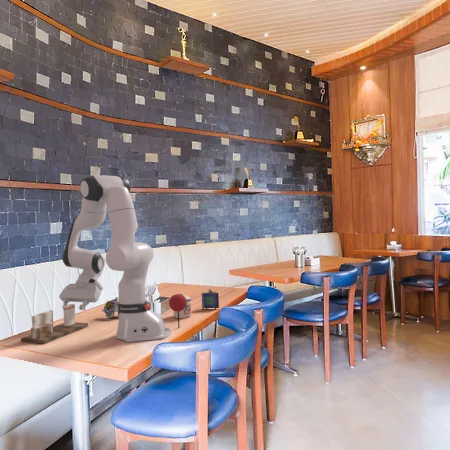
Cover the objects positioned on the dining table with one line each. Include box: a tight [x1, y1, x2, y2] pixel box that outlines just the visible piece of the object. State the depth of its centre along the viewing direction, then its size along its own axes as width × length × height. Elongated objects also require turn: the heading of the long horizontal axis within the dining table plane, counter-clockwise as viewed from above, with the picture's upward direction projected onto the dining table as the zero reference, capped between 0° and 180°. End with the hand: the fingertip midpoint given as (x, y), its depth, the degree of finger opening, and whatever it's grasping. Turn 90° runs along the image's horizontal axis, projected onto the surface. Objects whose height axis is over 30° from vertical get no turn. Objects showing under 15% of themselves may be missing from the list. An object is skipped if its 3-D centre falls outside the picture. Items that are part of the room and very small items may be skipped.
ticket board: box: [20, 309, 89, 345], centre depth 176 cm, size 27×12×11 cm, turn 160°
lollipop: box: [168, 293, 187, 328], centre depth 179 cm, size 8×8×15 cm
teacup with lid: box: [173, 292, 192, 319], centre depth 201 cm, size 12×9×12 cm
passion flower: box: [101, 296, 119, 320], centre depth 203 cm, size 11×11×12 cm
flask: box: [201, 288, 220, 309], centre depth 214 cm, size 9×3×11 cm, turn 79°
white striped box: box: [62, 303, 76, 326], centre depth 184 cm, size 5×2×9 cm, turn 160°
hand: (72, 308), depth 185 cm, fingers open, 8 cm apart
